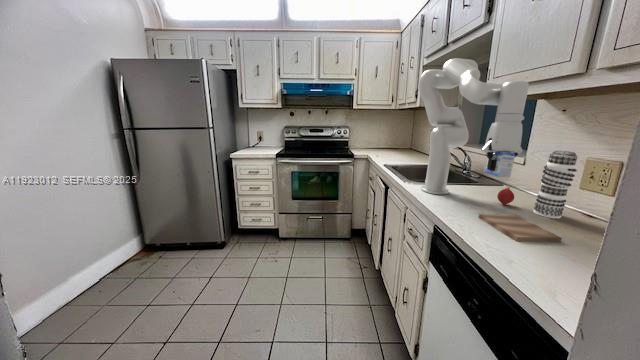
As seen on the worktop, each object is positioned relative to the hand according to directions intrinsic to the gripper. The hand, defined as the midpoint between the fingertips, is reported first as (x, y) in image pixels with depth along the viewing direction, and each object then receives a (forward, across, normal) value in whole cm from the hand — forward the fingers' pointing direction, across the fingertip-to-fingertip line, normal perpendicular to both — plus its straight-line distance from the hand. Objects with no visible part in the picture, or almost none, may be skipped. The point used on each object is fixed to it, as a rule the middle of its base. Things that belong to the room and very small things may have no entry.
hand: (498, 169), depth 92 cm
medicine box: (+2, 0, 0) cm, 2 cm away
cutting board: (+18, -1, +11) cm, 21 cm away
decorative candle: (+18, -25, -2) cm, 31 cm away
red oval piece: (+18, -15, -12) cm, 27 cm away
